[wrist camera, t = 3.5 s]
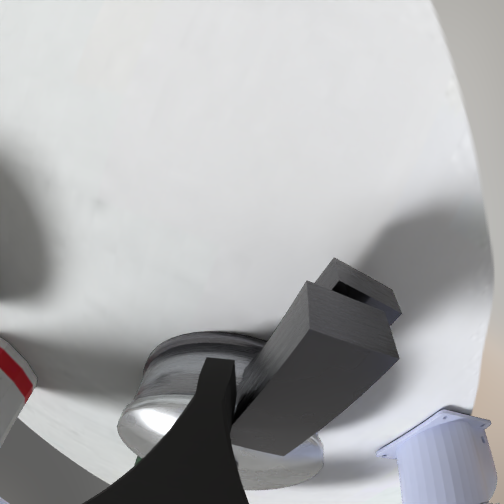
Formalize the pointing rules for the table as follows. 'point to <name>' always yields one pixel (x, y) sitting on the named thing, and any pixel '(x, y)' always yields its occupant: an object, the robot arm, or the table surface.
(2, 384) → the spray bottle
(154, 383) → the pot
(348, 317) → the lid
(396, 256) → the table surface
